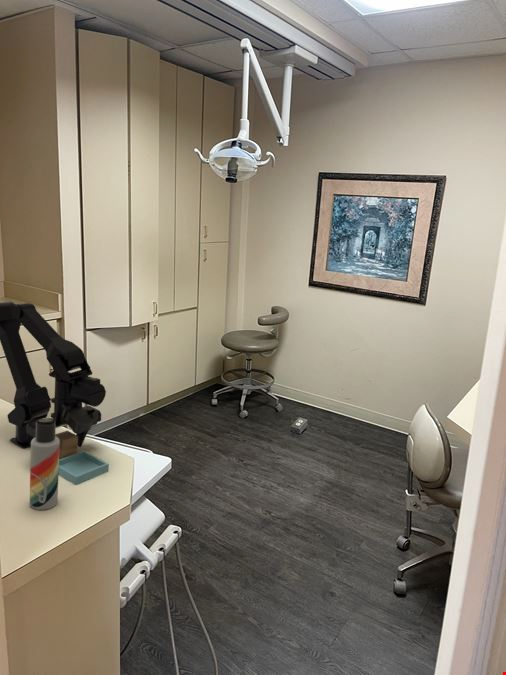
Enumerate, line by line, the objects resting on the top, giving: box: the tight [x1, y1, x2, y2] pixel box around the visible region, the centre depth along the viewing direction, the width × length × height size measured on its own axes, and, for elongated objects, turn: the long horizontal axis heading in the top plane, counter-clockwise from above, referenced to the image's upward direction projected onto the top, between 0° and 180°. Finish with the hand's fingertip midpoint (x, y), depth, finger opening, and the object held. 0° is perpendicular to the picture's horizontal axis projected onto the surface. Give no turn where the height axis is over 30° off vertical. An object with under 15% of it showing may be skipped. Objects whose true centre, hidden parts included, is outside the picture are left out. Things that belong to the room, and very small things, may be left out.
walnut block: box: [55, 430, 79, 460], centre depth 130 cm, size 4×4×6 cm
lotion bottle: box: [29, 417, 60, 511], centre depth 108 cm, size 6×6×20 cm
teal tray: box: [58, 450, 110, 486], centre depth 125 cm, size 10×10×2 cm
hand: (64, 451), depth 131 cm, fingers open, 9 cm apart
